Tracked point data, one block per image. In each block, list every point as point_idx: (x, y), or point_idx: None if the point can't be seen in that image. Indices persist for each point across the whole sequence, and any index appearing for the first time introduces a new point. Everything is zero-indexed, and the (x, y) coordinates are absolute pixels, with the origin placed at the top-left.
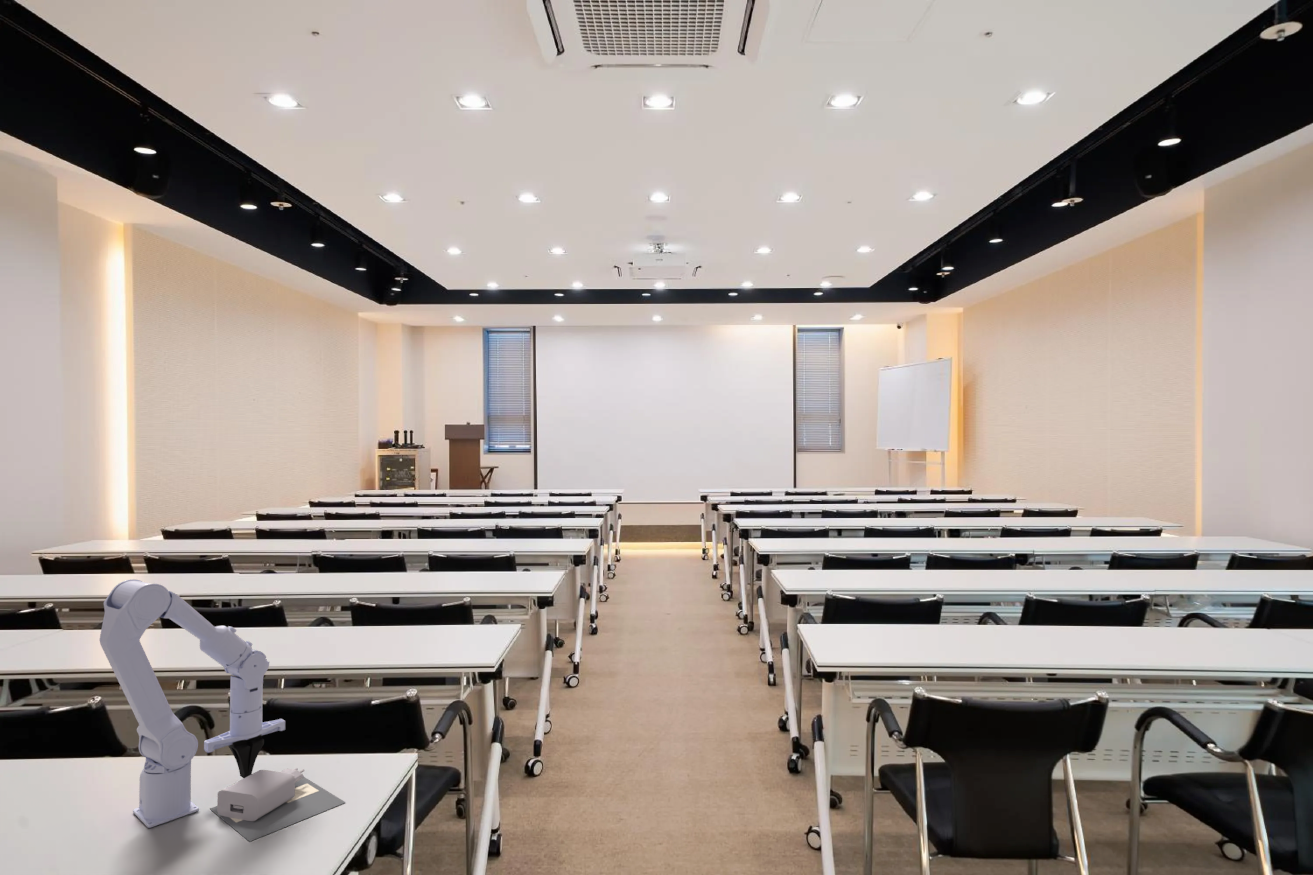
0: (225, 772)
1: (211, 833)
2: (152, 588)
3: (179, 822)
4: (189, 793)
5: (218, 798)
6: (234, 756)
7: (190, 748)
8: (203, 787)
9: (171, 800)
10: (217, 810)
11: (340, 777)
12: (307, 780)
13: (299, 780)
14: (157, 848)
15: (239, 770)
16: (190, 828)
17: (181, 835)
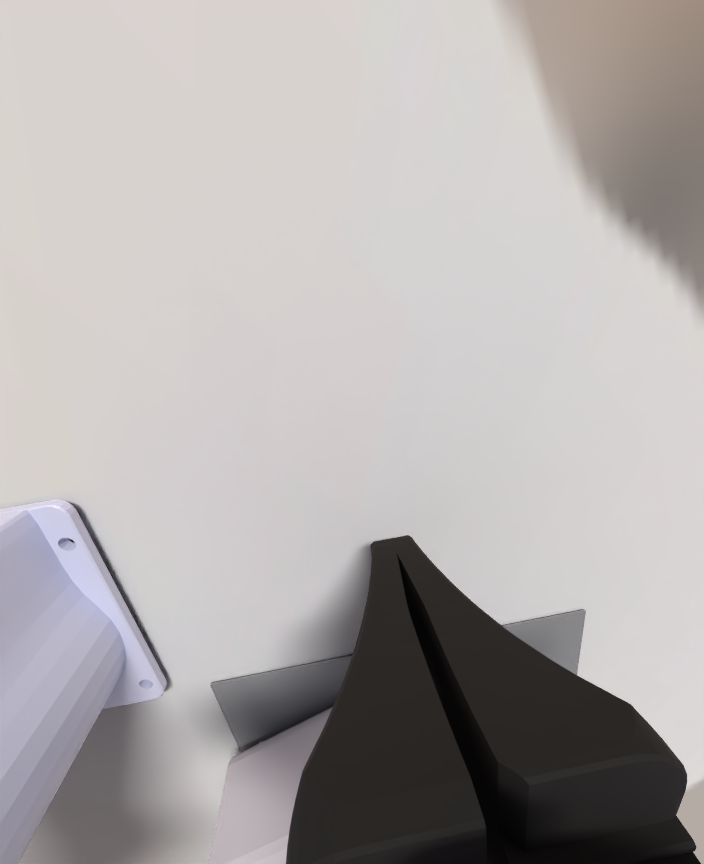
0: (330, 303)
1: (209, 812)
2: None
3: (101, 720)
4: (77, 753)
5: (217, 840)
6: (354, 651)
7: None
8: (189, 454)
9: None
10: (228, 765)
11: (653, 687)
12: (572, 658)
13: (553, 644)
14: (52, 822)
15: (372, 563)
16: (144, 768)
17: (118, 791)
